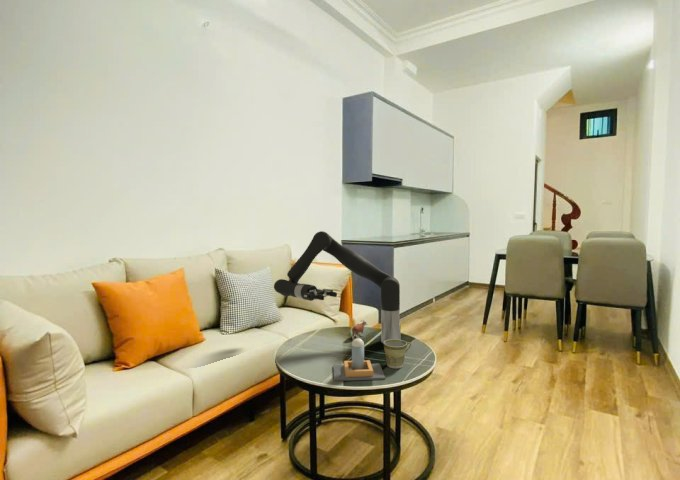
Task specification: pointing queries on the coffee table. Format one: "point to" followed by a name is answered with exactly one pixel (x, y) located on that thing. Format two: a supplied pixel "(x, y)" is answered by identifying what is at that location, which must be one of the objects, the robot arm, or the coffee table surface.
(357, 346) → the pale grey cylinder
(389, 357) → the ceramic cup
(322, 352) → the coffee table surface
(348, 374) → the jig
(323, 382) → the coffee table surface
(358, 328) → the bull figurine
